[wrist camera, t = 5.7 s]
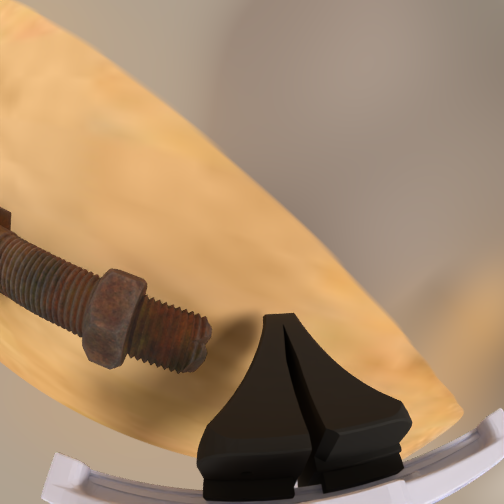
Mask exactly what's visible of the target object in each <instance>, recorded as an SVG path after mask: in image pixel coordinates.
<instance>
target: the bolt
mask: <svg viewBox="0 0 504 504" xmlns="http://www.w3.org/2000/svg"><path fill="white" fill-rule="evenodd" d="M10 227H11V212H9V211H7V210H5V209H3V208H1V207H0V293H2V294H4V295H5V296H7V297H9V298H10V299H11V300H13V301H15V302H16V303H17V304H19V305H20V306H22V307H24V308H25V309H27V310H29V311H30V312H32V313H34V314H36V315H39V317H41V318H44V319H45V320H47V321H50V322H51V323H55V324H56V325H57V326H61V327H62V328H63V329H67V330H68V331H69V332H70V331H72V333H73V334H75V335H76V334H78V336H79V337H82V346H83V349H84V351H85V353H86V355H87V358H88V360H89V361H91V362H94V363H96V364H98V365H101V366H103V367H105V368H108V369H113V368H116V367H119V366H121V365H122V364H123V362H124V360H125V357H126V355H127V354H129V356H130V358H132V357H133V356H135V358H136V360H137V361H138V360H139V359H140V358H141V359H142V361H143V362H144V363H145V362H146V361H147V360H148V362H149V363H150V365H152V364H153V363H155V364H156V366H157V368H158V367H159V366H161V365H162V367H163V369H164V370H165V369H166V368H169V369H170V371H171V372H172V371H173V370H176V372H177V373H178V374H179V373H180V372H181V371H182V373H185V372H194V371H195V370H196V369H197V368H198V367H199V366H200V365H201V364H202V363H203V362H204V361H205V358H206V355H207V350H206V346H205V344H206V343H207V342H208V340H209V339H210V338H211V333H212V328H211V326H210V324H209V323H208V320H207V317H206V316H204V317H202V318H201V317H200V314H199V313H198V314H196V315H194V312H193V311H192V312H190V313H188V312H187V310H186V309H185V310H183V311H182V312H181V309H180V307H178V308H176V309H175V308H174V305H171V306H169V307H168V305H167V302H166V303H164V304H162V305H161V301H160V300H158V301H157V302H155V300H154V297H153V298H151V299H148V296H147V295H145V294H146V290H147V283H146V281H145V280H144V279H142V278H139V277H137V276H134V275H132V274H129V273H127V272H124V271H121V270H118V269H109V270H108V271H107V272H106V273H105V274H104V275H103V277H101V278H100V279H99V276H98V275H97V274H96V275H93V273H92V272H89V273H88V271H87V270H86V269H84V270H82V268H81V267H77V266H76V265H73V264H71V263H70V262H66V261H65V260H64V259H63V260H62V259H61V258H60V257H56V256H55V255H52V254H51V253H49V252H46V251H45V250H42V249H41V248H38V247H37V246H35V245H33V244H31V243H29V242H27V241H25V240H23V239H21V238H20V237H18V236H17V234H15V233H14V232H12V231H10Z"/></svg>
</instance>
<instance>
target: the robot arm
mask: <svg viewBox="0 0 504 504" xmlns="http://www.w3.org/2000/svg"><path fill="white" fill-rule="evenodd" d="M411 426H412V420H411V418H410V416H409V414H408V412H407V410H406V408H405V406H404V405H403V403H402V402H401V401H399V400H397V399H394V398H392V397H390V396H388V395H385V394H383V393H381V392H379V391H377V390H375V389H373V388H372V387H370V386H368V385H366V384H365V383H363V382H362V381H360V380H359V379H357V378H356V377H354V376H353V375H351V374H350V373H348V372H347V371H346V370H345V369H343V368H342V367H341V366H340V365H339V364H337V363H336V362H335V361H334V360H333V359H332V358H331V357H330V356H329V355H328V354H327V353H326V352H325V351H324V350H323V349H322V348H321V347H320V346H319V345H318V343H317V342H316V341H315V340H314V339H313V338H312V336H311V335H310V334H309V333H308V332H307V330H306V329H305V328H304V326H303V325H302V324H301V322H300V321H299V319H298V318H297V316H296V315H295V314H294V313H285V314H266V315H265V316H263V330H262V335H261V338H260V342H259V345H258V348H257V351H256V353H255V356H254V358H253V361H252V363H251V365H250V367H249V369H248V371H247V373H246V375H245V377H244V379H243V380H242V382H241V384H240V385H239V387H238V388H237V390H236V391H235V393H234V394H233V396H232V397H231V398H230V400H229V401H228V402H227V404H226V405H225V406H224V407H223V409H222V410H221V411H220V412H219V413H218V414H217V415H216V416H215V417H214V419H213V420H212V421H211V422H210V423H209V424H208V425H207V427H206V429H205V431H204V434H203V436H202V438H201V441H200V444H199V447H198V452H197V468H198V469H199V471H200V473H201V474H202V476H203V478H204V482H203V490H192V489H182V488H173V487H166V486H160V485H154V484H148V483H143V482H138V481H133V480H129V479H124V478H120V477H116V476H112V475H109V474H105V473H102V472H98V471H95V470H92V469H90V468H89V466H87V465H86V464H85V463H83V462H82V461H80V460H78V459H75V458H72V457H69V456H67V455H64V454H62V453H59V452H56V453H55V455H54V458H53V460H52V463H51V466H50V469H49V472H48V475H47V478H46V481H45V485H44V488H43V491H42V495H41V498H42V499H43V500H45V501H47V502H49V503H50V504H434V503H436V502H438V501H440V500H442V499H444V498H446V497H447V496H449V495H451V494H453V493H454V492H456V491H458V490H459V489H461V488H463V487H464V486H466V485H468V484H469V483H471V482H472V481H474V480H475V479H477V478H478V477H479V476H481V475H483V474H484V473H485V472H487V471H488V470H490V469H491V468H492V467H494V466H495V465H496V464H497V463H499V462H500V461H501V460H502V459H503V458H504V411H503V410H502V408H499V409H498V410H496V411H495V412H493V413H491V414H490V415H488V416H487V417H486V418H485V419H483V420H482V421H481V422H480V424H479V425H478V426H477V428H475V429H473V430H472V431H470V432H468V433H466V434H464V435H462V436H461V437H459V438H457V439H455V440H453V441H451V442H449V443H447V444H445V445H443V446H441V447H438V448H436V449H434V450H432V451H430V452H427V453H425V454H423V455H420V456H418V457H415V458H413V459H410V460H407V461H405V462H402V460H401V457H400V454H399V453H400V452H401V446H400V444H399V442H400V441H401V440H402V439H403V438H404V436H405V435H406V434H407V433H408V431H409V430H410V428H411Z"/></svg>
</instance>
